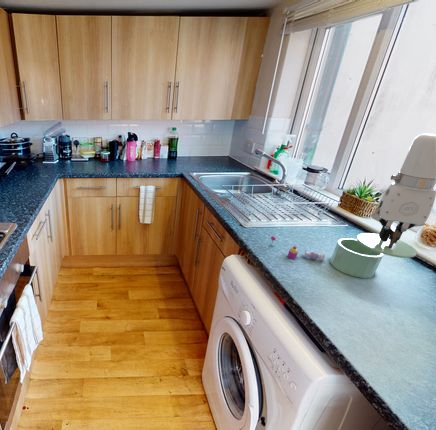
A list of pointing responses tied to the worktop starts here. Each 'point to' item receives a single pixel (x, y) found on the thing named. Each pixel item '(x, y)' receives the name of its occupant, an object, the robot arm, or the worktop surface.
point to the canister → (355, 258)
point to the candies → (313, 255)
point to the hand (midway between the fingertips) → (387, 240)
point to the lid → (387, 244)
